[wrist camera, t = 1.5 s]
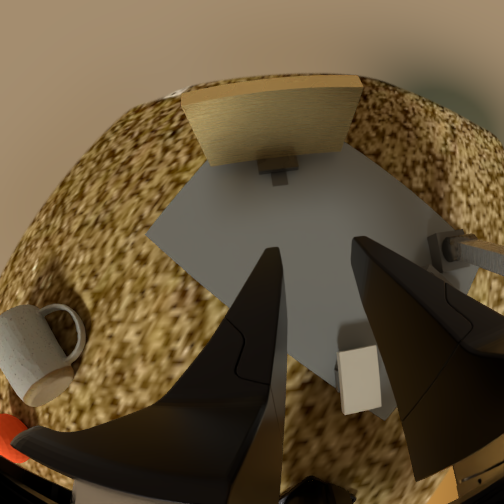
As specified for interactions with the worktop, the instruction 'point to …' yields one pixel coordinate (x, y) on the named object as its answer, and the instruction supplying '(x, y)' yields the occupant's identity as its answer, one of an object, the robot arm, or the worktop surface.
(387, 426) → the worktop surface
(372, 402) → the block
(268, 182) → the panel
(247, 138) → the brass paddle
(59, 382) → the ceramic mug
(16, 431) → the red tomato
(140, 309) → the worktop surface
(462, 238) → the steel lever
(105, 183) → the worktop surface
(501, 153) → the worktop surface
